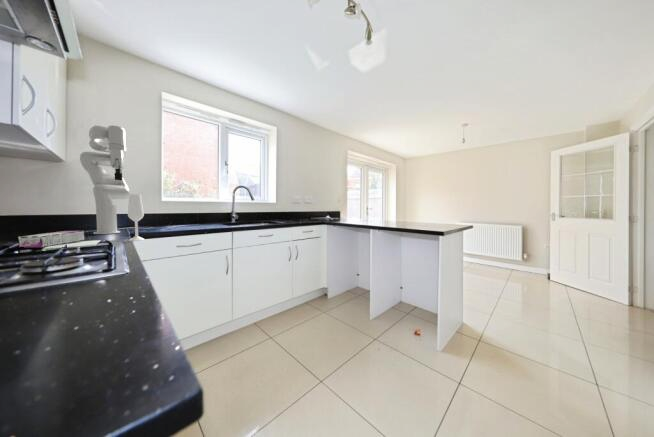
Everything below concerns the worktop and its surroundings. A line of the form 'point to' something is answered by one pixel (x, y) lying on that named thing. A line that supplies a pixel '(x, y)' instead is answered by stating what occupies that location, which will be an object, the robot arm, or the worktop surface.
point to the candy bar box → (51, 238)
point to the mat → (74, 244)
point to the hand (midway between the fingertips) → (118, 179)
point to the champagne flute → (135, 212)
